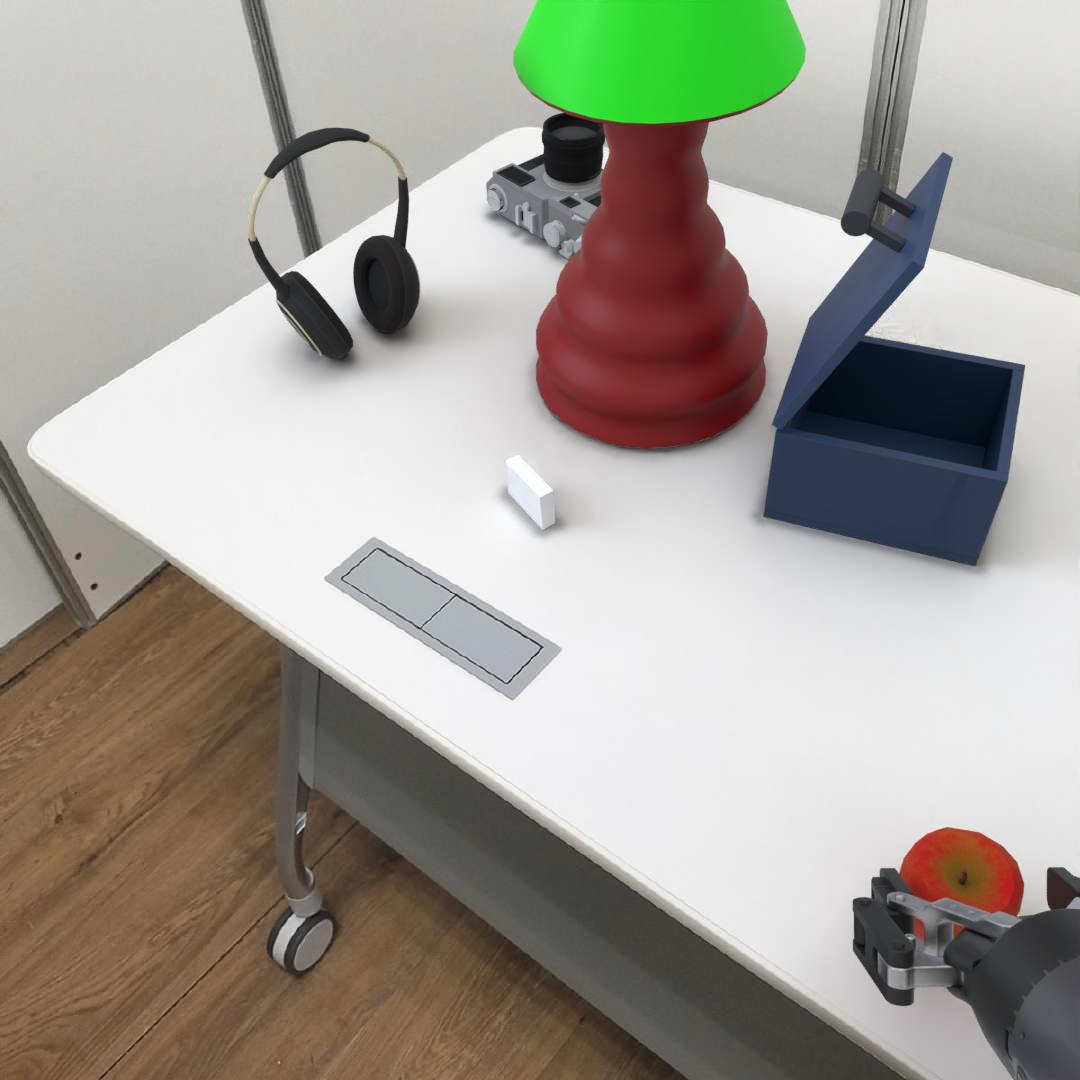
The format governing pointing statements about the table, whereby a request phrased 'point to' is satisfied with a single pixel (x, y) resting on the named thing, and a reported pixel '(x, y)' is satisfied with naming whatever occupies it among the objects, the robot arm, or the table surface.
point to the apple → (963, 873)
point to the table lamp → (654, 213)
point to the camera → (554, 183)
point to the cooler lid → (866, 277)
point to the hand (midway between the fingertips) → (968, 885)
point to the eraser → (530, 492)
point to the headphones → (378, 266)
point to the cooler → (901, 449)
